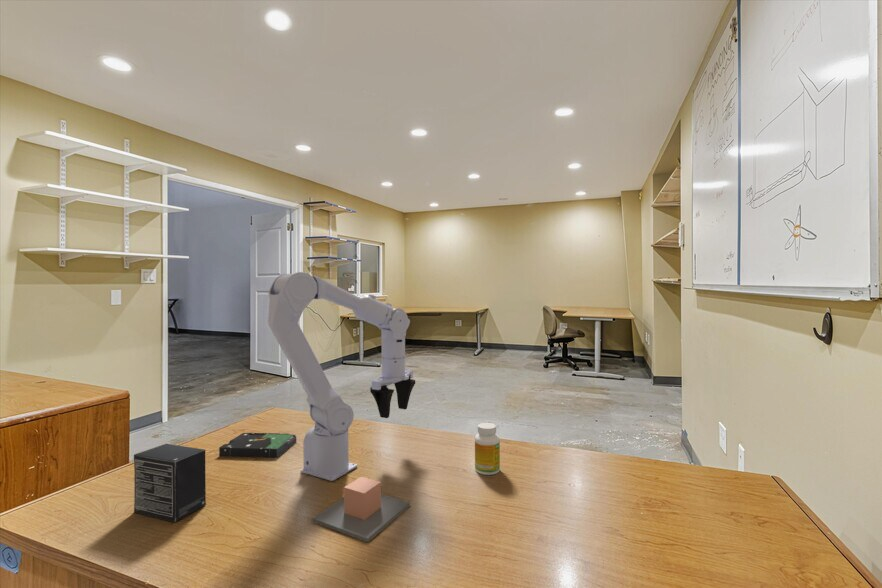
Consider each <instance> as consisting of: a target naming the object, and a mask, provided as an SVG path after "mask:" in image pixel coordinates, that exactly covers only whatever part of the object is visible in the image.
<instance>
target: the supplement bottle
mask: <svg viewBox="0 0 882 588" xmlns="http://www.w3.org/2000/svg"><path fill="white" fill-rule="evenodd" d="M500 443H501V442H500V436H499V435H498V434H497V425H495V423H492V422H491V423H490V422H481V423H479V424H478V425H477V434H476V435H475V437H474V470H475V472H477V473H478V474H480V475H485V476H492V475H496V474H498V473H499V472H500V470H501V469H500V468H501V464H500V463H501V462H500V460H501V457H500V456H501V455H500V454H501V452H500V451H501V448H500V446H501V445H500Z"/></svg>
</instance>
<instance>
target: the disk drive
mask: <svg viewBox="0 0 882 588" xmlns="http://www.w3.org/2000/svg"><path fill="white" fill-rule="evenodd" d="M296 443H297V436H296V434H293V433H276V432H275V433H270V432H269V433H267V432H265V433H264V432H242V433H241V434H240V435H238V436H236V437H234V438H233V439H231V440H229V441H228V443H224V444H222V445H221V446H220V447H219V448H218V449H219V450H218V455H219V457H223V458H224V457H225V458H226V457H228V458H229V457H231V458H234V457H235V458H265V459H278V458H279V457H281V456H282V455H283V454H284V453H286V452H287V451H288V450H289V449H290V448H291V447H293V446H294V445H295V444H296Z"/></svg>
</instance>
